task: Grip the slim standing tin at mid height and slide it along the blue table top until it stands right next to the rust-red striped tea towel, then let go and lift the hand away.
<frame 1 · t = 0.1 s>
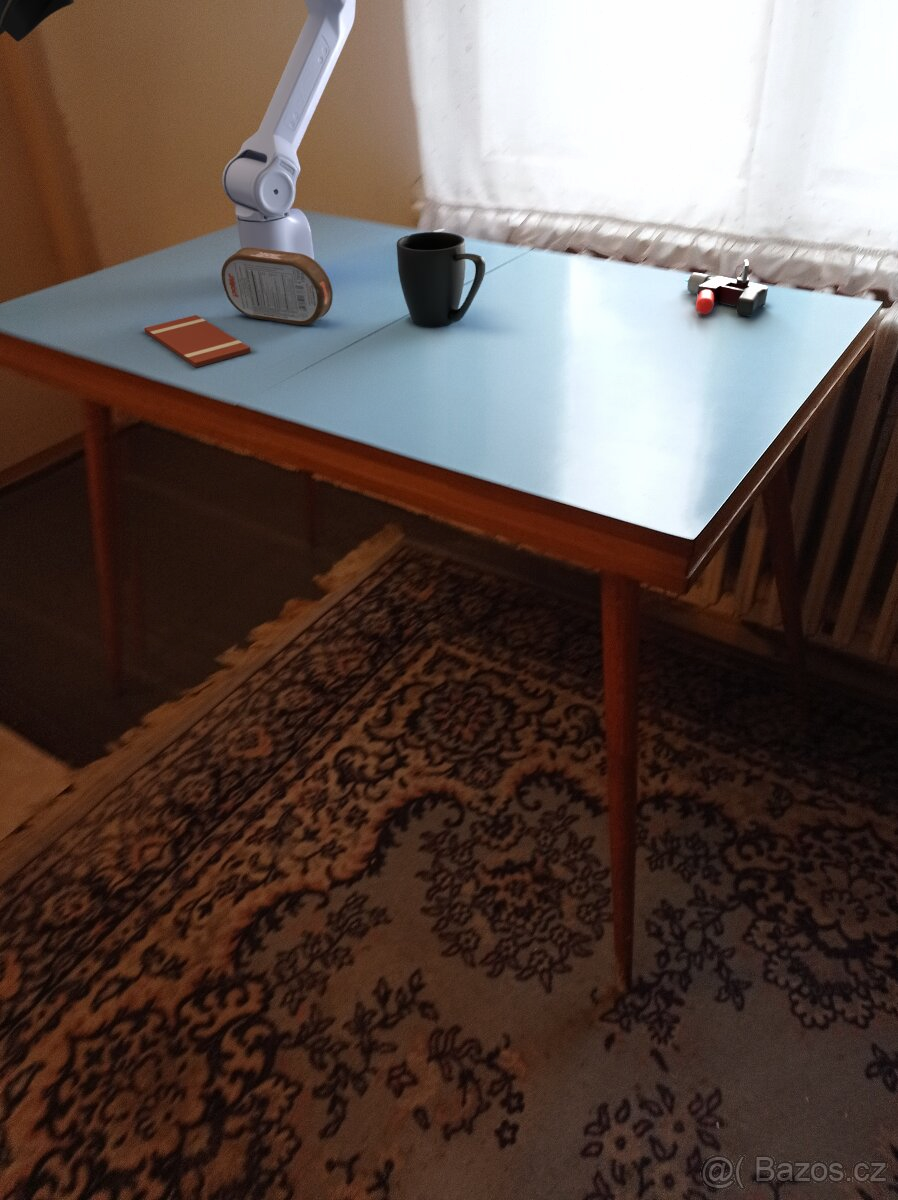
towel: (196, 342, 110), on the table
fork: (436, 261, 134), on the table
red and grey device: (712, 307, 115), on the table
tin: (280, 321, 115), on the table
mug: (444, 324, 113), on the table
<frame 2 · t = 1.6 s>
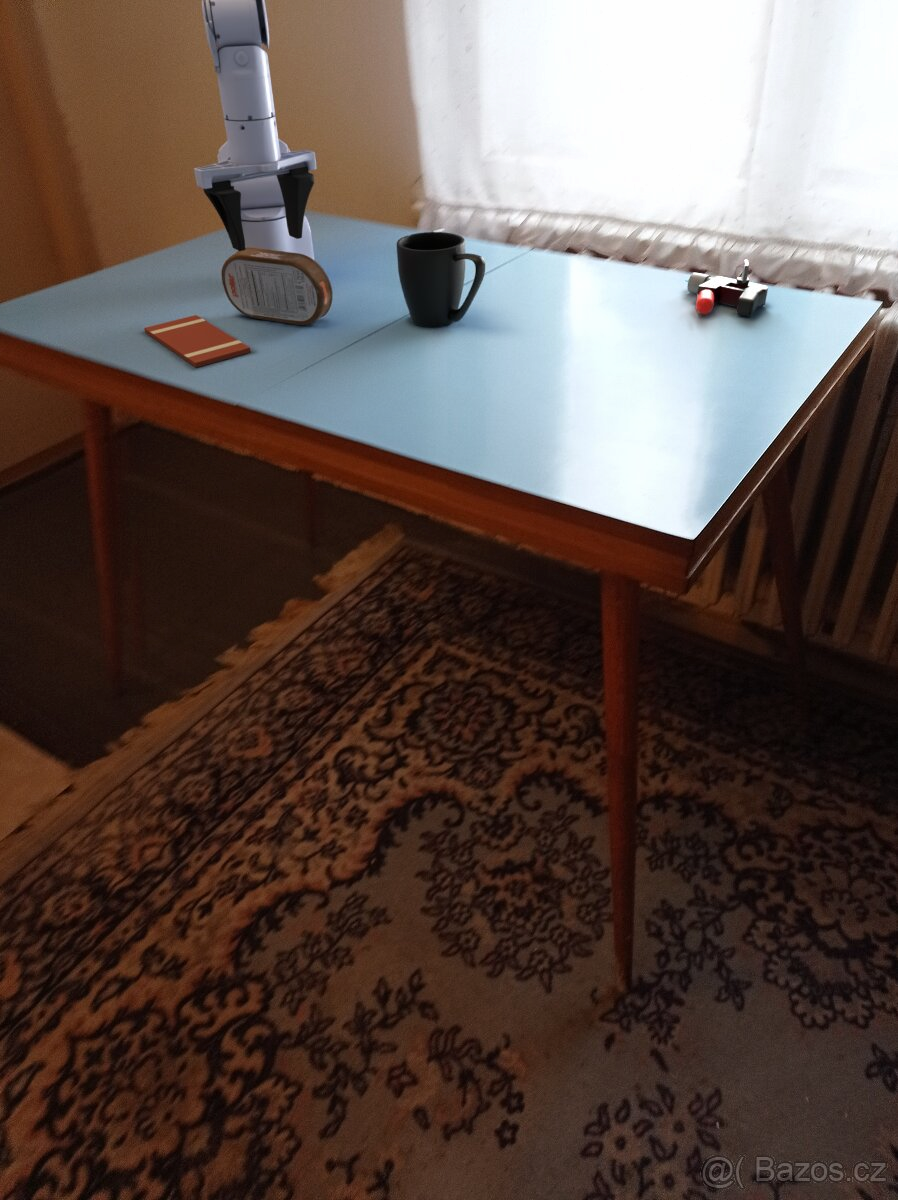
hand: (267, 242, 110), 9 cm above the table, tool pointing down, fingers open, 7 cm apart
nothing on the table moved.
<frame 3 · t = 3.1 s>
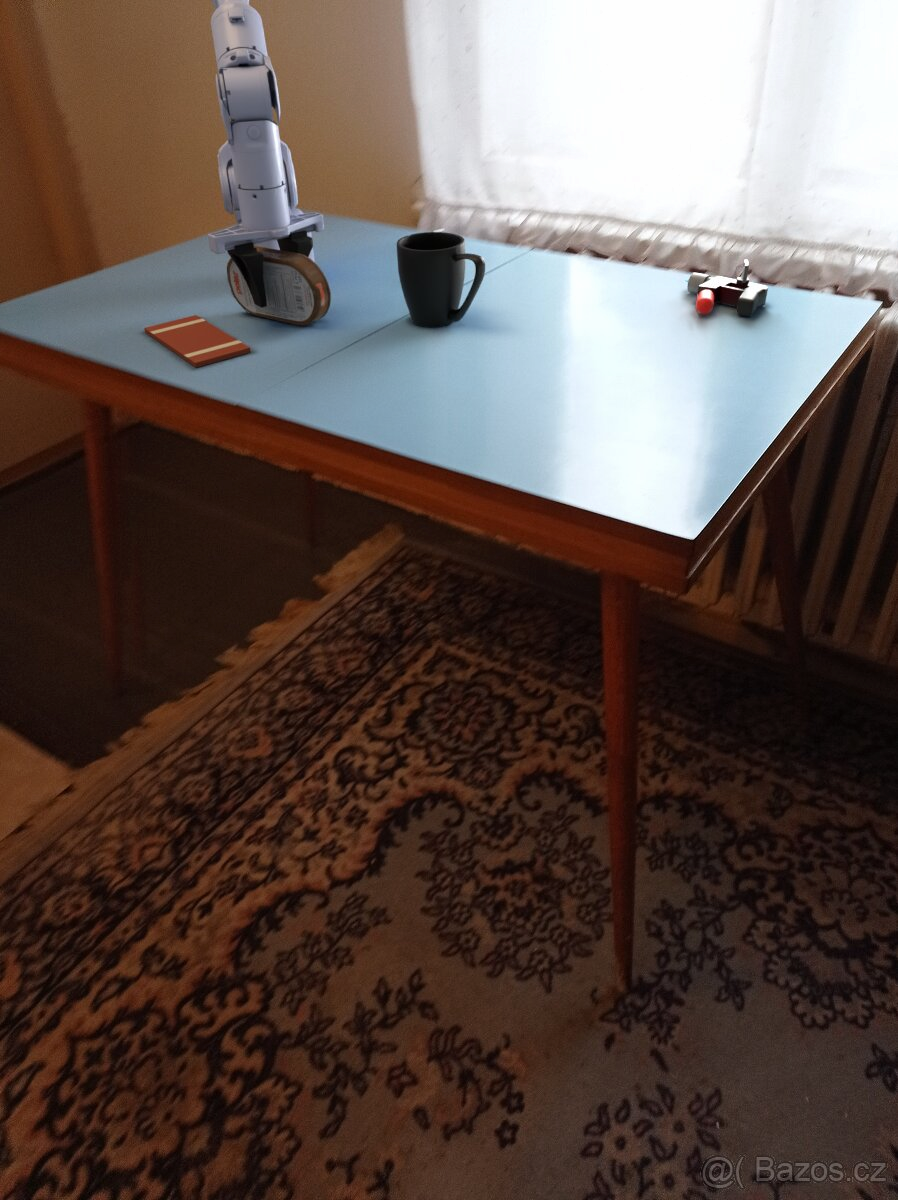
hand: (277, 300, 114), 2 cm above the table, tool pointing down, fingers closed on tin, 4 cm apart
tin: (281, 320, 116), on the table, touching gripper
everything else where it was.
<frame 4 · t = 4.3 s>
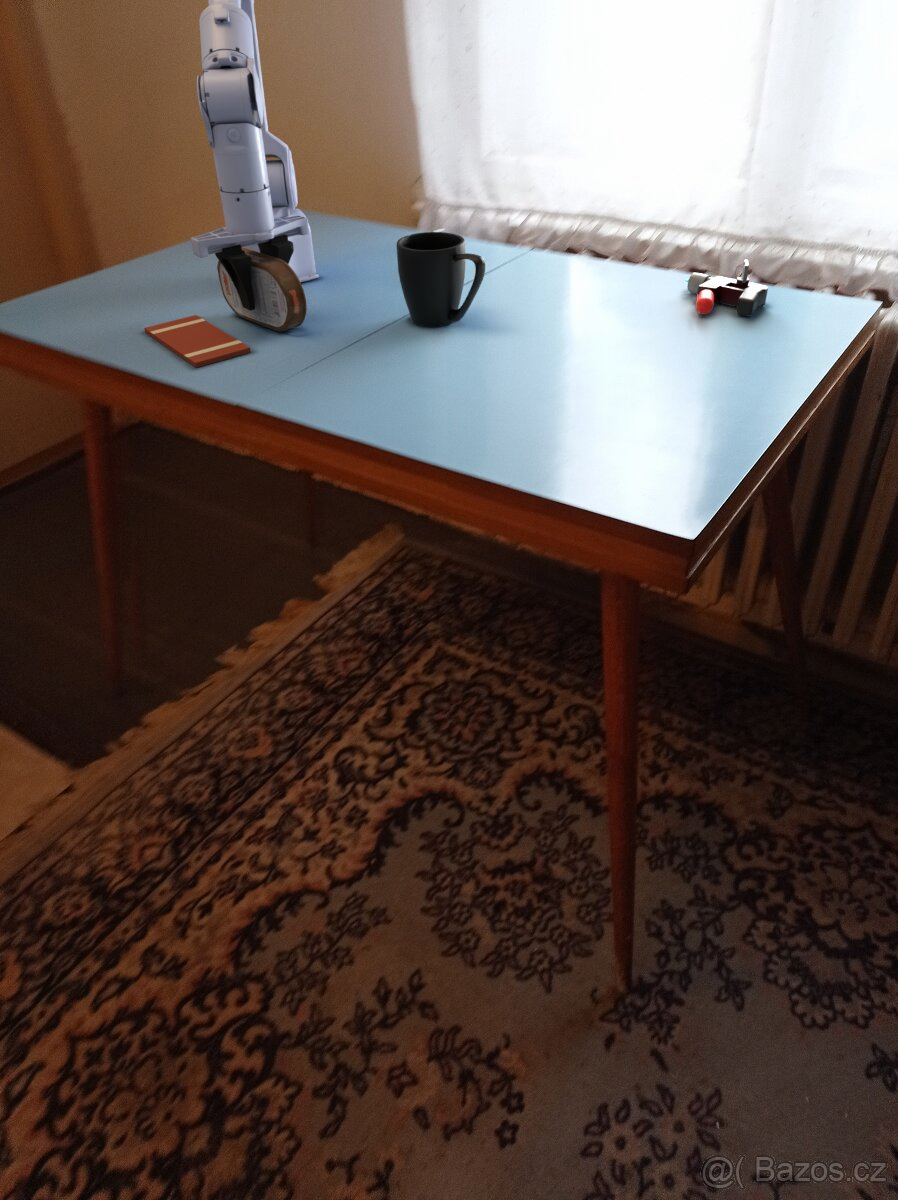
hand: (262, 304, 113), 2 cm above the table, tool pointing down, fingers closed on tin, 3 cm apart
tin: (264, 324, 115), on the table, touching gripper
everything else where it was.
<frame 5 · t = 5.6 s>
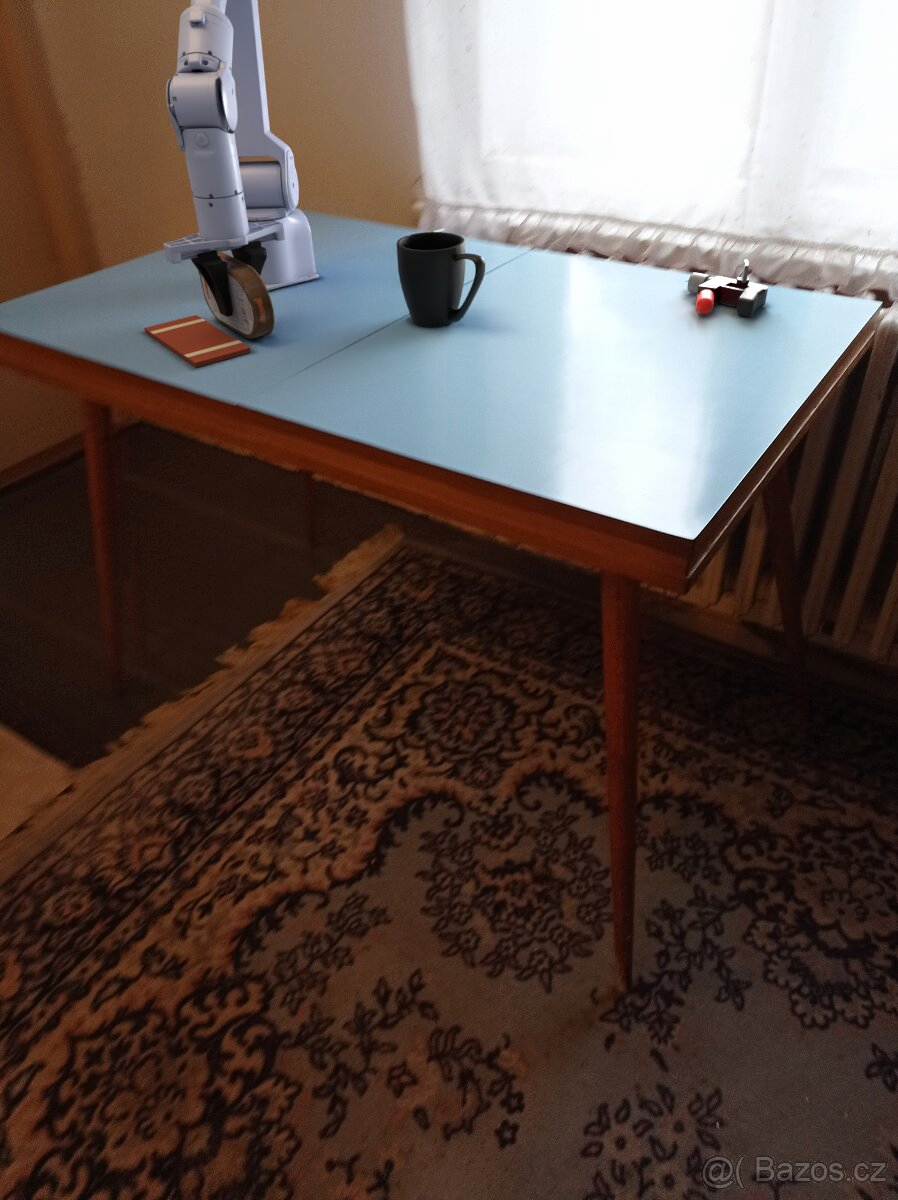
hand: (238, 311, 111), 2 cm above the table, tool pointing down, fingers closed on tin, 3 cm apart
tin: (240, 330, 113), on the table, touching gripper
everything else where it was.
when the fingers open (2 cm above the table, at t = 5.8 s): tin stays where it is, on the table.
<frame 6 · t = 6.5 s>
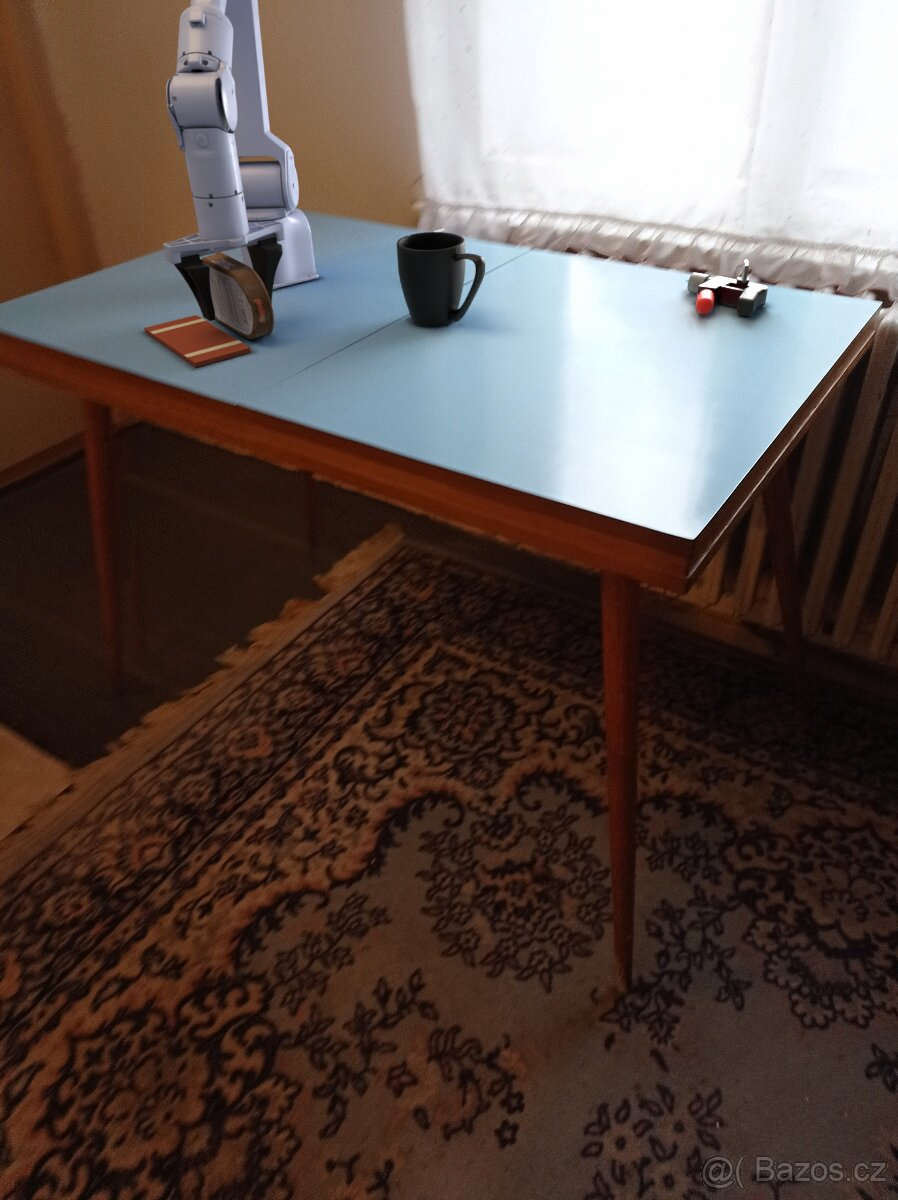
hand: (237, 311, 111), 2 cm above the table, tool pointing down, fingers open, 7 cm apart
tin: (240, 331, 113), on the table
everything else where it was.
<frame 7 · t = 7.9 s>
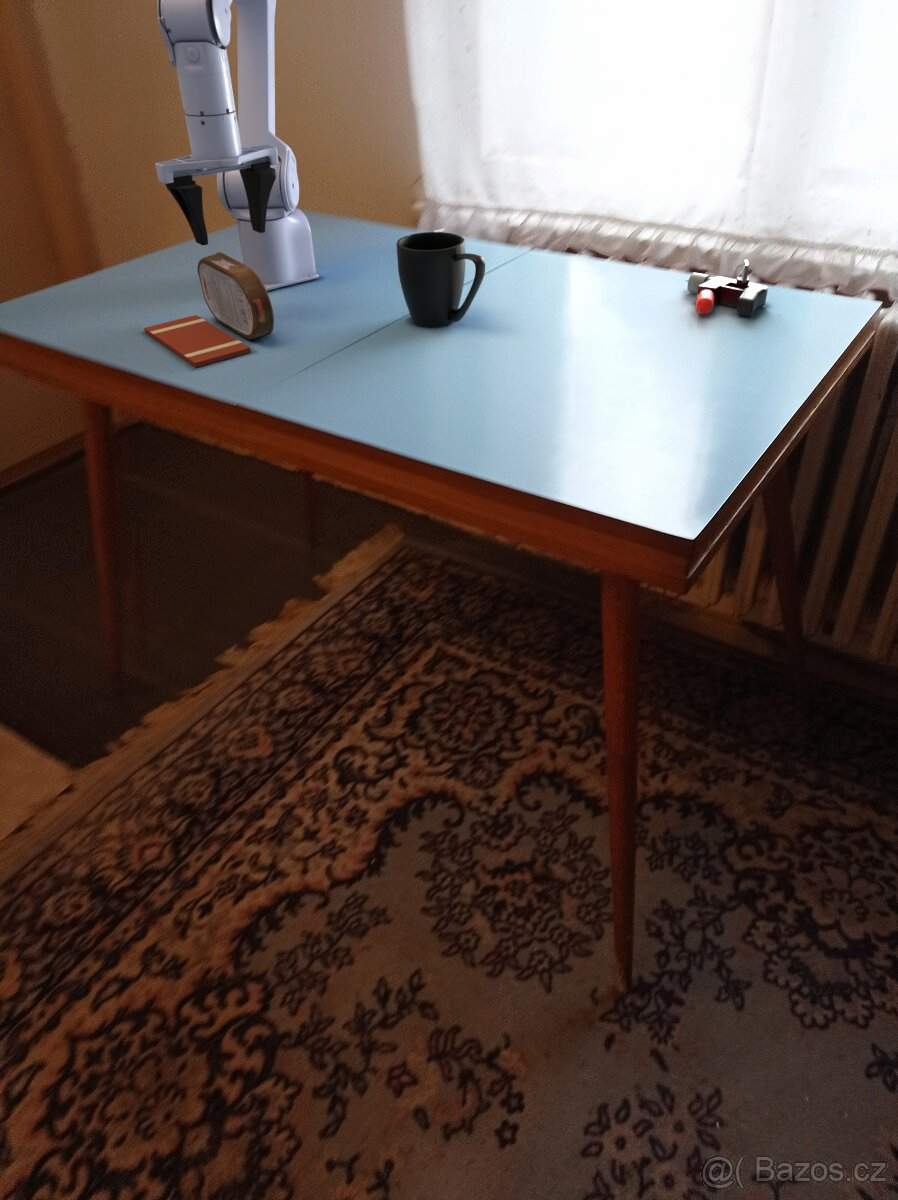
hand: (231, 237, 111), 10 cm above the table, tool pointing down, fingers open, 7 cm apart
nothing on the table moved.
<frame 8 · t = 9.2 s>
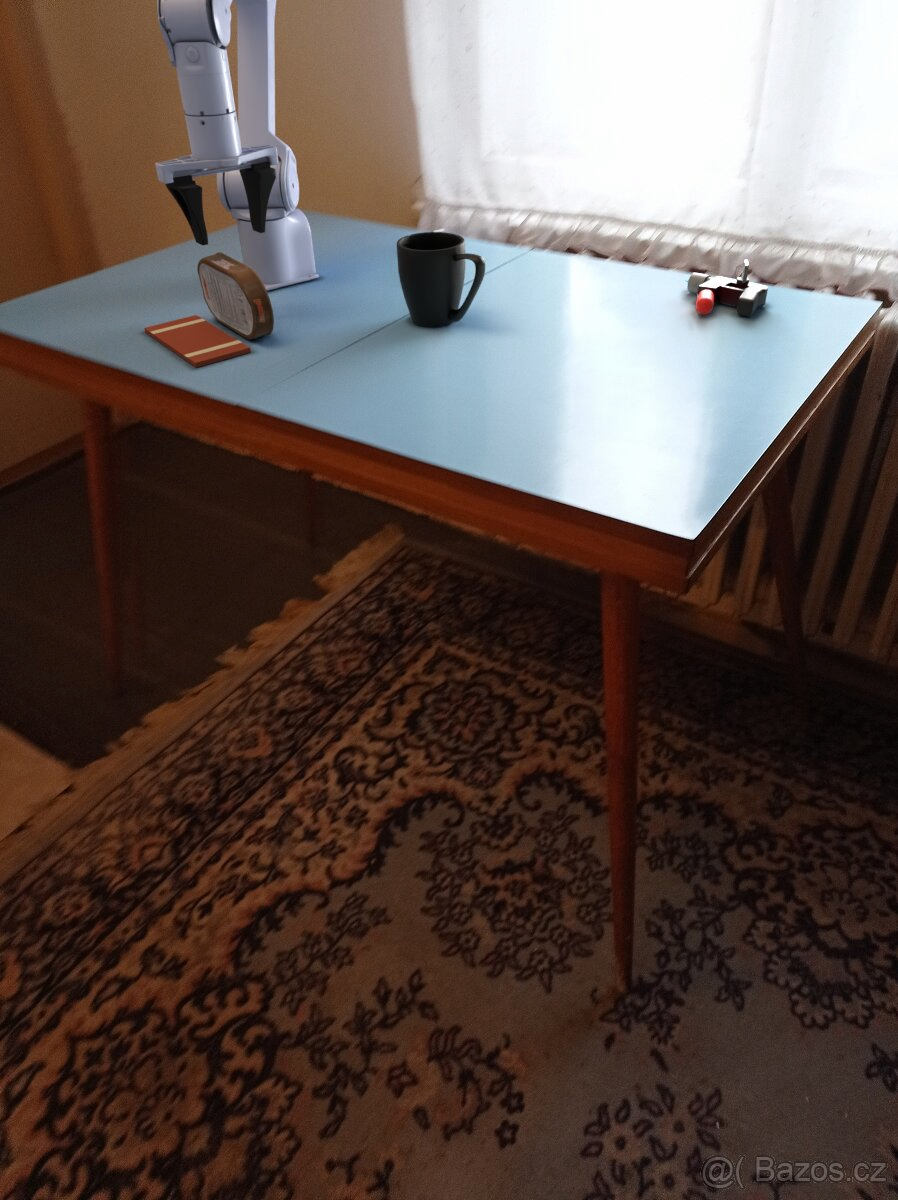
hand: (231, 237, 111), 10 cm above the table, tool pointing down, fingers open, 7 cm apart
nothing on the table moved.
at the end: tin 0.5 cm from the target spot on the table beside the towel, on the table; tin tilted 0°; the gripper is holding nothing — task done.
